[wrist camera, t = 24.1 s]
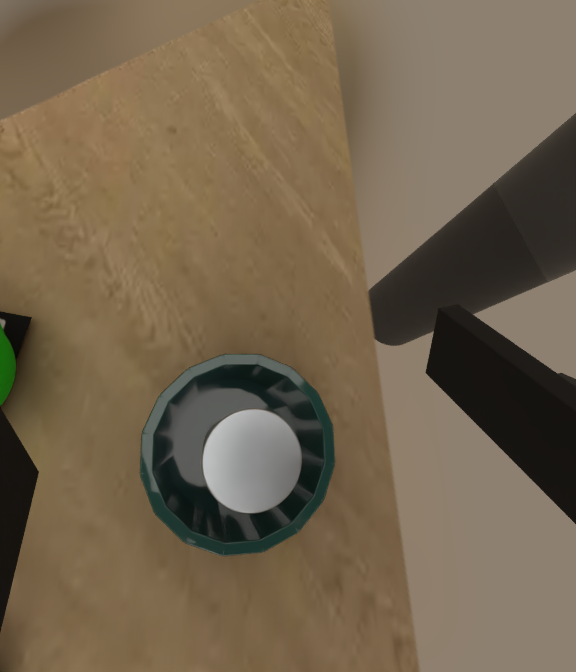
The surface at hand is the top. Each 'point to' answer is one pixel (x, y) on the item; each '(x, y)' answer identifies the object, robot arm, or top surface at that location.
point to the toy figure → (10, 348)
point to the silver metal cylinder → (251, 460)
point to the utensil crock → (187, 444)
